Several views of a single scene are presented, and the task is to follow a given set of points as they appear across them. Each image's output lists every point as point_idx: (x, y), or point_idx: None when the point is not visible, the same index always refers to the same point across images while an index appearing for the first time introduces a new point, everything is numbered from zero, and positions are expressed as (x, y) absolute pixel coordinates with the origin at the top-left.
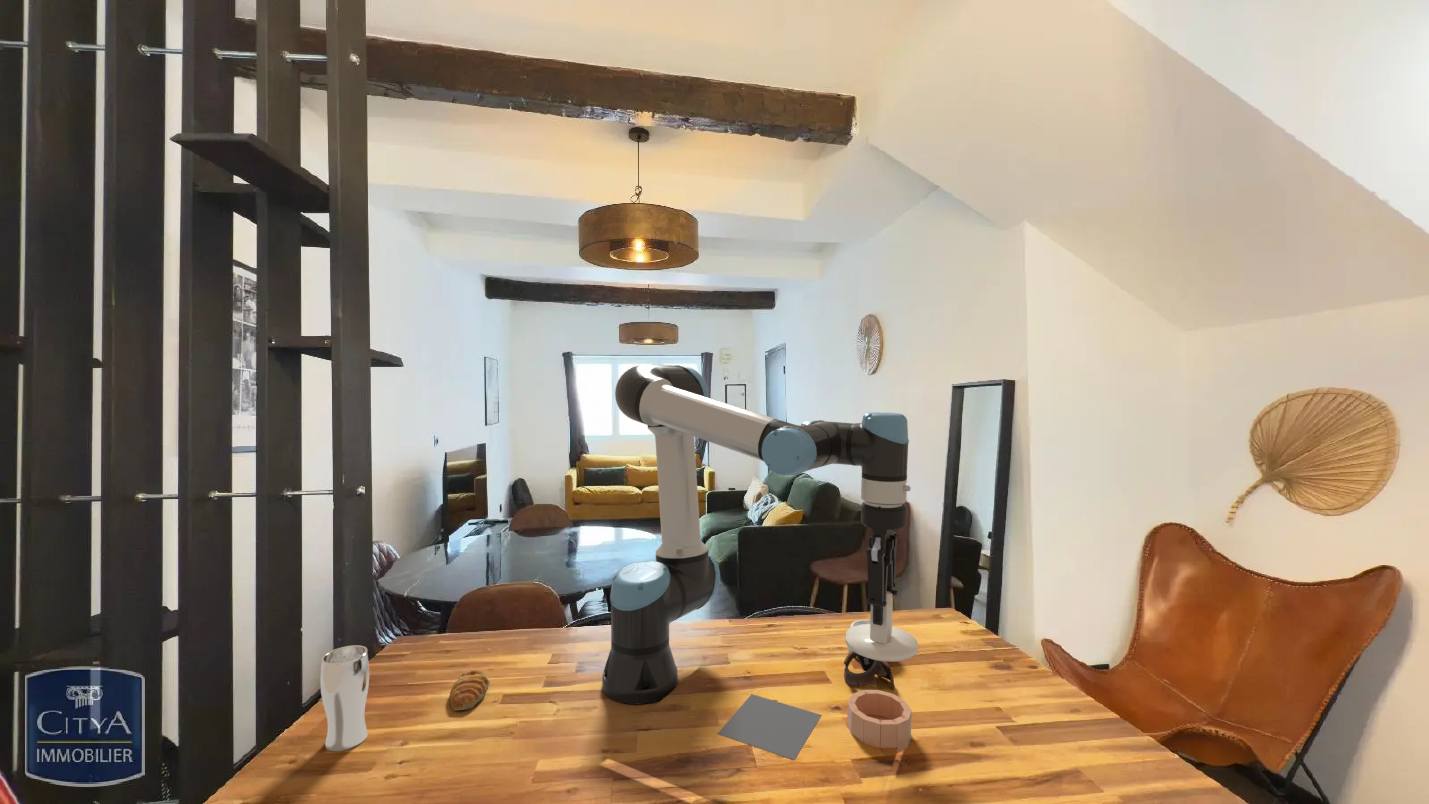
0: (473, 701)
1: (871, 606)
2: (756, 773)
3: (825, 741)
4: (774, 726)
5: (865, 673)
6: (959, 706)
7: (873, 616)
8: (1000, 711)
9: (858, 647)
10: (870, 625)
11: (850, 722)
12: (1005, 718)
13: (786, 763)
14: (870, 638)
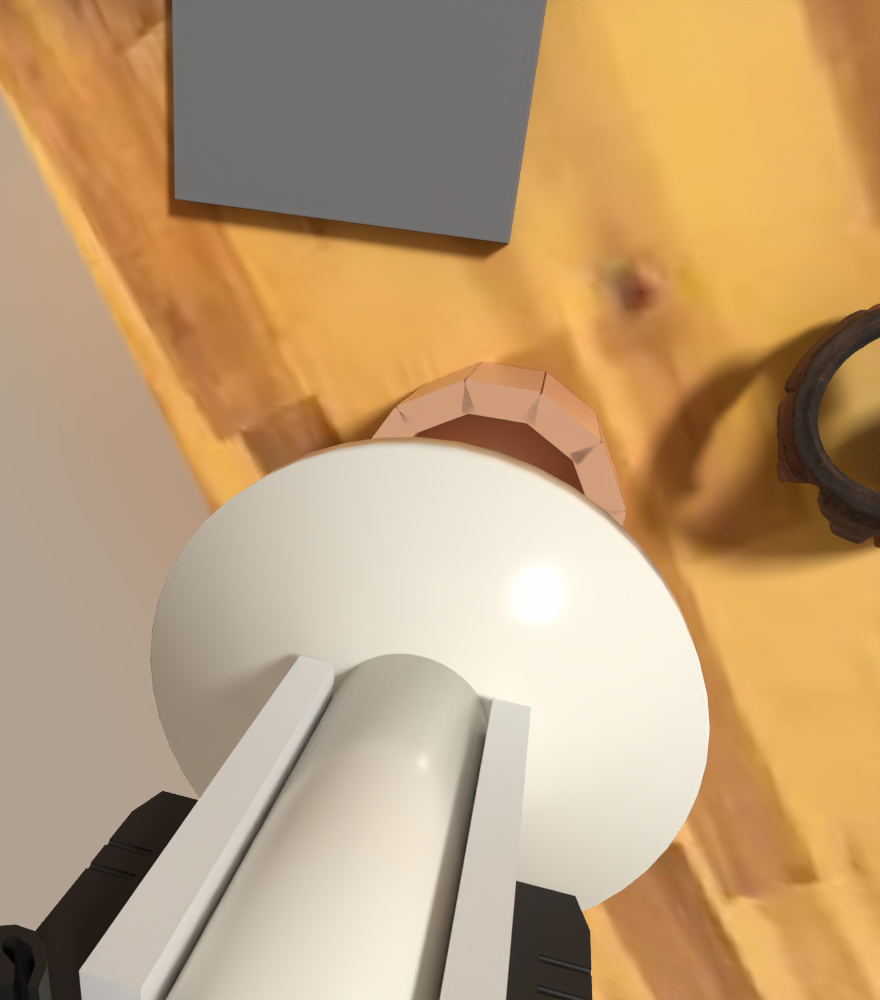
0: None
1: (114, 931)
2: (88, 66)
3: (373, 288)
4: (336, 38)
5: (804, 440)
6: (785, 763)
7: (93, 863)
8: (783, 877)
9: (184, 565)
10: (242, 740)
11: (423, 389)
12: (738, 879)
13: None
14: (295, 667)
